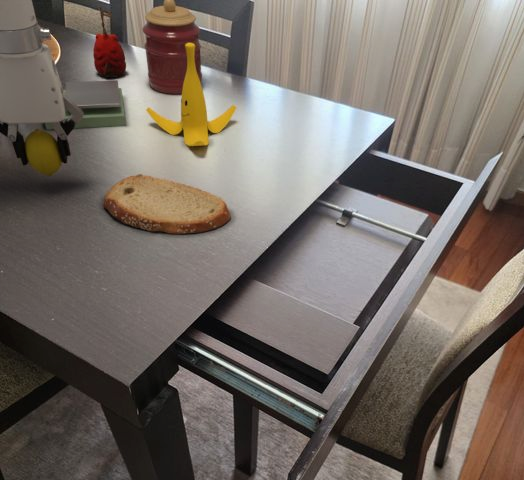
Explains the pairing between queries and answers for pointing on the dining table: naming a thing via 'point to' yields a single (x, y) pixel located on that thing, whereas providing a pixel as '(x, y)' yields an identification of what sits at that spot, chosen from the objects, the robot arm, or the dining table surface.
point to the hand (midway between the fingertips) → (45, 159)
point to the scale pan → (94, 94)
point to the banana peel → (193, 109)
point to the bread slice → (165, 205)
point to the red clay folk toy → (108, 53)
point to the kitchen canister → (170, 46)
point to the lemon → (43, 152)
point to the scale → (98, 116)
